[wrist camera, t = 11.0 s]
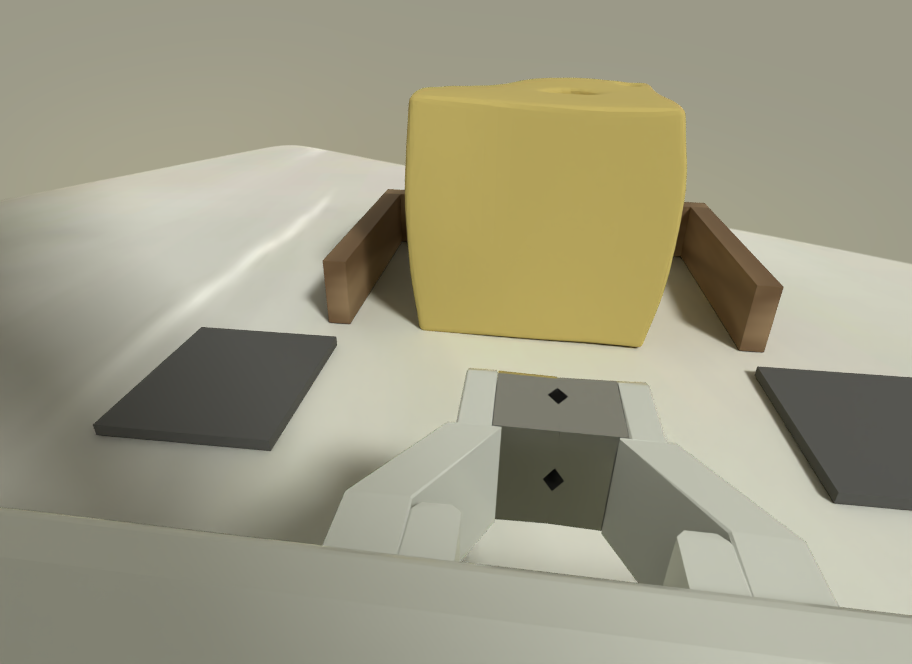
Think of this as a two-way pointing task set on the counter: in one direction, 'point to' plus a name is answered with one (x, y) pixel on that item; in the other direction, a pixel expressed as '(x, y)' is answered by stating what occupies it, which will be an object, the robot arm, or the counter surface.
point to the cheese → (543, 207)
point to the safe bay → (698, 243)
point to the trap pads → (303, 356)
